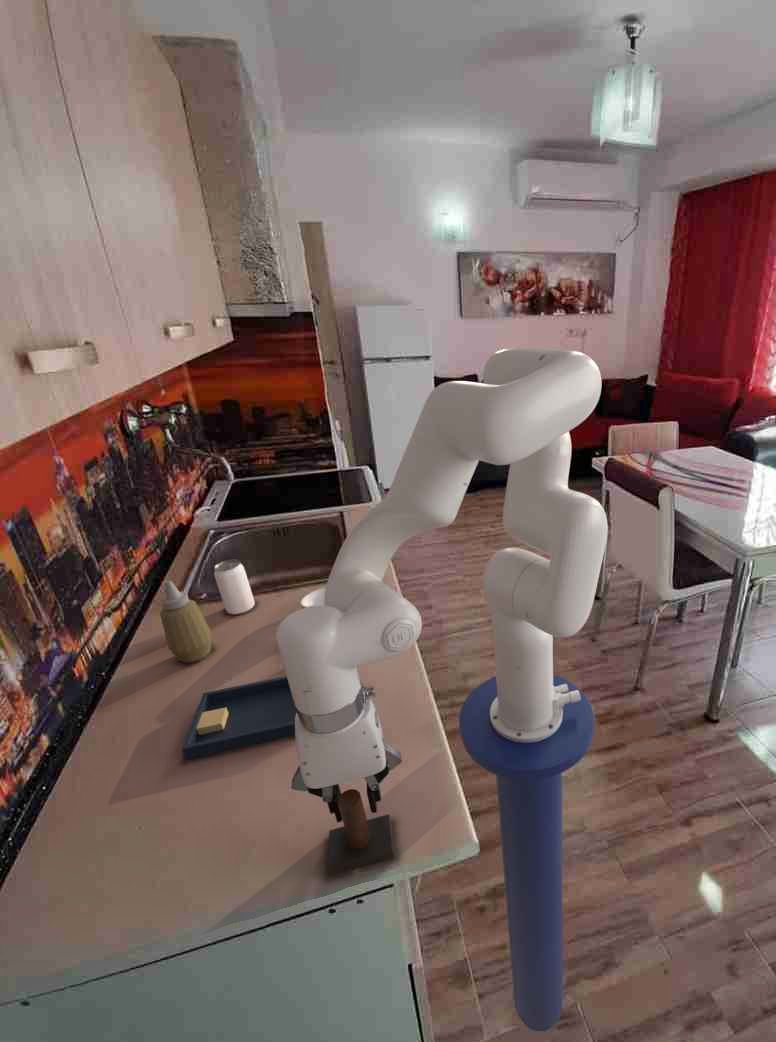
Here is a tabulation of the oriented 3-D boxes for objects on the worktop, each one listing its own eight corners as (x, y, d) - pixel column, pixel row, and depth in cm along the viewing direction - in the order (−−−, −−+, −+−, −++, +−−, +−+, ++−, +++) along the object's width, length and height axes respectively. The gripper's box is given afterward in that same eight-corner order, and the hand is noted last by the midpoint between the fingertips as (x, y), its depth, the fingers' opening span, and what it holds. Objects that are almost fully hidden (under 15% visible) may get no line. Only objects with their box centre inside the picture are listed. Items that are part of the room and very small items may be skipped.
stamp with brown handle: (391, 823, 71) (380, 773, 66) (394, 857, 67) (382, 807, 62) (332, 839, 69) (316, 790, 65) (331, 876, 65) (314, 826, 60)
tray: (316, 680, 99) (313, 670, 98) (311, 731, 87) (308, 720, 86) (207, 703, 95) (203, 692, 94) (186, 760, 83) (181, 749, 82)
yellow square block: (228, 713, 91) (226, 707, 91) (223, 729, 88) (221, 723, 87) (204, 718, 91) (202, 712, 90) (198, 735, 87) (196, 728, 86)
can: (256, 598, 129) (243, 556, 124) (253, 611, 123) (240, 568, 118) (228, 604, 127) (214, 561, 122) (224, 617, 121) (209, 573, 116)
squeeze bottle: (218, 639, 113) (193, 568, 106) (214, 660, 107) (187, 586, 99) (177, 649, 111) (149, 577, 103) (171, 671, 104) (139, 596, 96)
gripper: (398, 669, 66) (416, 770, 74) (261, 698, 62) (295, 800, 70) (403, 710, 59) (422, 815, 67) (251, 744, 56) (289, 852, 64)
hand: (357, 807), depth 68 cm, fingers open, 3 cm apart
